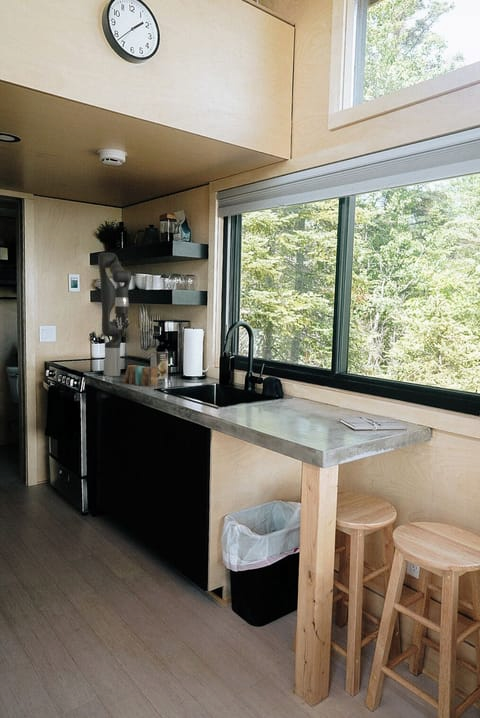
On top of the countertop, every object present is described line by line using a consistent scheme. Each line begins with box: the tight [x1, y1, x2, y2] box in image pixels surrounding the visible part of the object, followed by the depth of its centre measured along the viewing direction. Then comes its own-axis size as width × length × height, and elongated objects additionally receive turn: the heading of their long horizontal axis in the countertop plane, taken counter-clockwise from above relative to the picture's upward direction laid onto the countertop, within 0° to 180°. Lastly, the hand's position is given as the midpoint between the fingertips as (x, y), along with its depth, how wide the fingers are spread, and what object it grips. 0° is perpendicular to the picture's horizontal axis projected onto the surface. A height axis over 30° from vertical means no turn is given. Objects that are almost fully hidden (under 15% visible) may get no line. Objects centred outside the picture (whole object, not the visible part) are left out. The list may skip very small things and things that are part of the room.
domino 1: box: [122, 364, 135, 384], centre depth 298 cm, size 2×5×10 cm, turn 145°
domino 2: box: [128, 364, 139, 385], centre depth 296 cm, size 2×5×10 cm, turn 145°
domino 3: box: [135, 365, 146, 386], centre depth 294 cm, size 2×5×10 cm, turn 146°
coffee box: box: [150, 351, 169, 380], centre depth 321 cm, size 9×6×16 cm
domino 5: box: [147, 367, 159, 387], centre depth 288 cm, size 2×5×10 cm, turn 145°
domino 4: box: [141, 366, 151, 387], centre depth 291 cm, size 2×5×10 cm, turn 145°
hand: (121, 336), depth 300 cm, fingers closed
